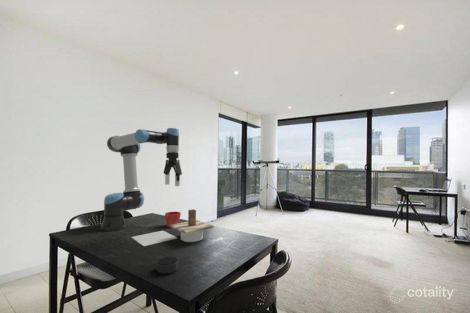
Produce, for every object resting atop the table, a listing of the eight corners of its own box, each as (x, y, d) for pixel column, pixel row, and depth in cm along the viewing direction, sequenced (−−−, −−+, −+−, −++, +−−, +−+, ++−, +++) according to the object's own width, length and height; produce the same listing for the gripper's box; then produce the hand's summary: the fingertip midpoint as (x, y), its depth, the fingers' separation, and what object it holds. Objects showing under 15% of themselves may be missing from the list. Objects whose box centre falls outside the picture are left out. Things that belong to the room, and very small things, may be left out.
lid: (170, 227, 135) (171, 209, 135) (196, 221, 147) (196, 206, 147) (186, 234, 121) (186, 214, 122) (213, 227, 134) (213, 210, 134)
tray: (131, 238, 135) (131, 237, 135) (162, 231, 149) (162, 230, 149) (143, 247, 121) (143, 246, 121) (177, 239, 134) (177, 238, 134)
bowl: (177, 239, 134) (177, 227, 134) (195, 234, 142) (195, 223, 143) (188, 244, 125) (188, 231, 126) (206, 239, 133) (206, 227, 134)
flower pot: (173, 223, 168) (173, 210, 168) (183, 226, 161) (183, 212, 162) (161, 227, 159) (161, 213, 159) (171, 229, 153) (171, 215, 153)
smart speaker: (170, 263, 102) (170, 254, 102) (182, 269, 96) (182, 260, 96) (152, 270, 95) (152, 260, 95) (163, 277, 90) (164, 267, 90)
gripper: (158, 152, 153) (158, 184, 152) (176, 151, 134) (176, 187, 134) (169, 153, 158) (168, 183, 157) (187, 151, 139) (187, 186, 139)
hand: (172, 185), depth 145 cm, fingers open, 13 cm apart
